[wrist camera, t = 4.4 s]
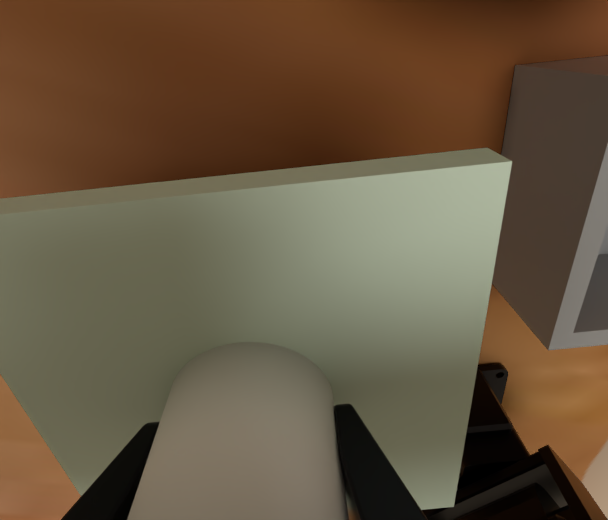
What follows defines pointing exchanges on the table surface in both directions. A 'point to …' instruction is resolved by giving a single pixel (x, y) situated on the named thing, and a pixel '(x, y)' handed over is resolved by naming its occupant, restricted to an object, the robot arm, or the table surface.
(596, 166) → the storage box
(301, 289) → the lid
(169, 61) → the table surface
